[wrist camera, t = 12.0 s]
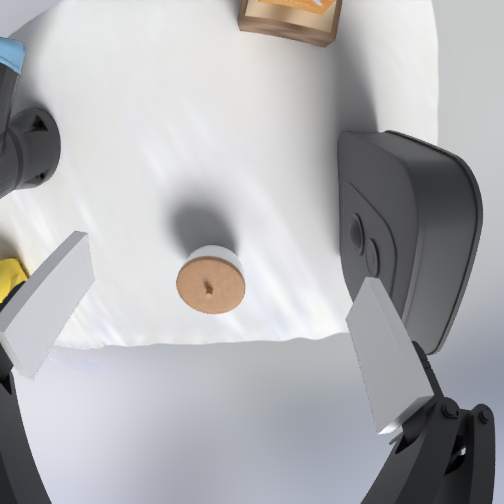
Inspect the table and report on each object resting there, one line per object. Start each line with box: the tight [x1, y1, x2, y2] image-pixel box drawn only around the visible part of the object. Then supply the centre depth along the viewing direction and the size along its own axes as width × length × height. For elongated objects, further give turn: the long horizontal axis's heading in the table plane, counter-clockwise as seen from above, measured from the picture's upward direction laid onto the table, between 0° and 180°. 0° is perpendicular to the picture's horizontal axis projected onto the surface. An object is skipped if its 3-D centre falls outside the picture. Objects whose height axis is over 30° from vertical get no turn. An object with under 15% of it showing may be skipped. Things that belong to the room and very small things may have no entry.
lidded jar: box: [176, 245, 245, 314], centre depth 46 cm, size 11×11×9 cm
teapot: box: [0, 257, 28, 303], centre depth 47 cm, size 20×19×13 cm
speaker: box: [338, 130, 483, 355], centre depth 33 cm, size 25×9×25 cm, turn 8°
